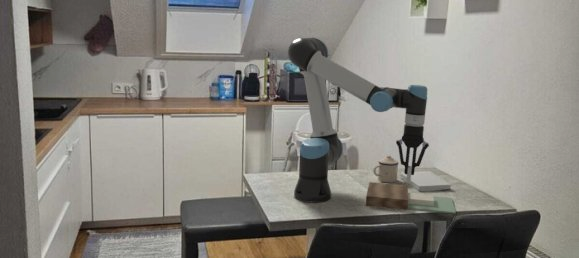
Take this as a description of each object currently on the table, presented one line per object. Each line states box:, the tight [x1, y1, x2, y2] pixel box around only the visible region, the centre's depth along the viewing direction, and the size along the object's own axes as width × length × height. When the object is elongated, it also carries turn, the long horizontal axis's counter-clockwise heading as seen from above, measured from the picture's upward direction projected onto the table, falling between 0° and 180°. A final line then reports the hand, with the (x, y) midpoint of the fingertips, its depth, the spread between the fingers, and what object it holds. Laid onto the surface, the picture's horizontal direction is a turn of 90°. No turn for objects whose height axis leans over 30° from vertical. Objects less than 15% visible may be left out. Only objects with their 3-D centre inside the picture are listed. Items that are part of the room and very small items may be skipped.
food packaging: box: [399, 170, 452, 192], centre depth 239 cm, size 15×3×20 cm
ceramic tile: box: [408, 192, 434, 206], centre depth 211 cm, size 10×8×2 cm
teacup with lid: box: [373, 155, 399, 184], centre depth 242 cm, size 12×9×12 cm
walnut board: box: [365, 181, 409, 211], centre depth 214 cm, size 16×20×4 cm
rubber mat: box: [407, 195, 457, 215], centre depth 211 cm, size 18×18×1 cm
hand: (408, 182), depth 211 cm, fingers closed
